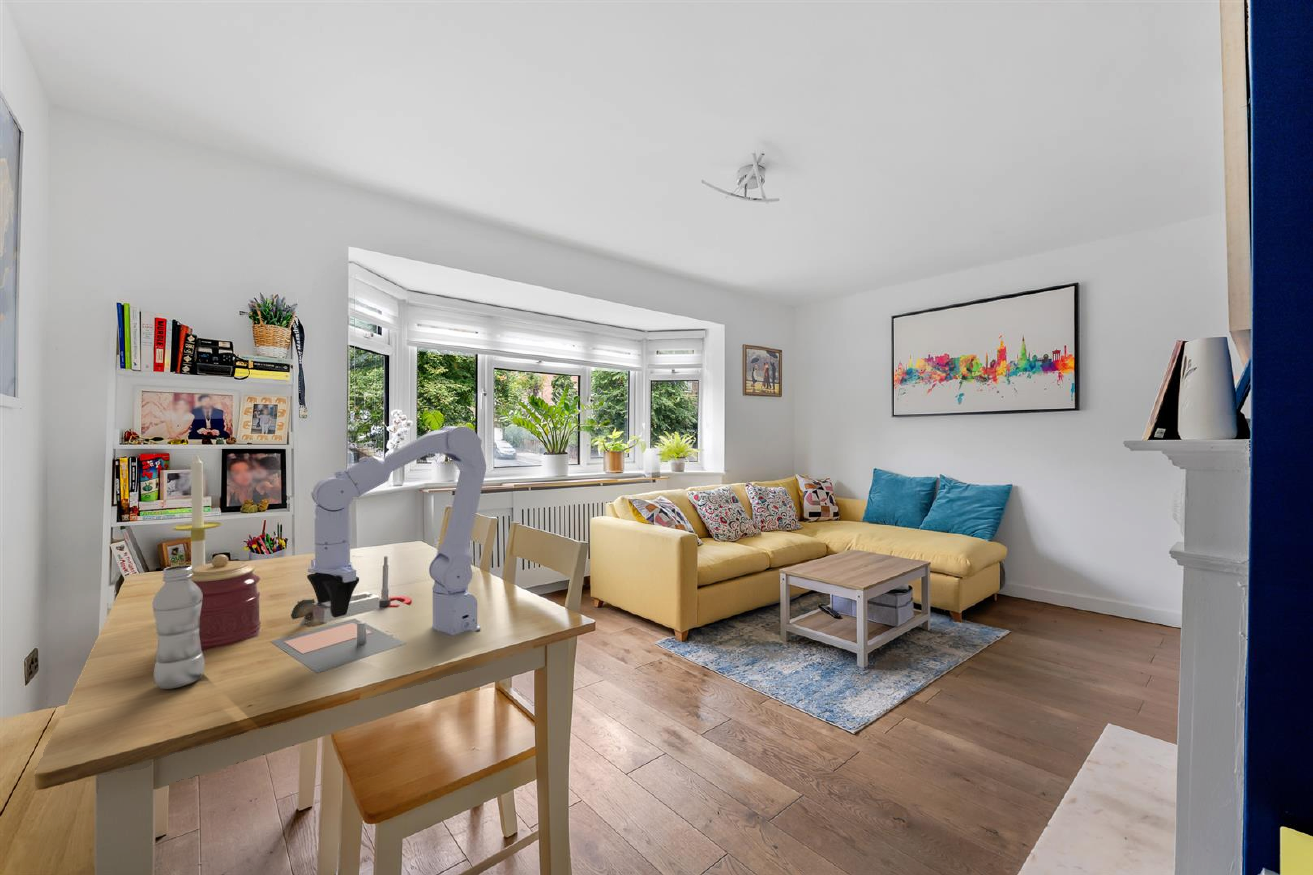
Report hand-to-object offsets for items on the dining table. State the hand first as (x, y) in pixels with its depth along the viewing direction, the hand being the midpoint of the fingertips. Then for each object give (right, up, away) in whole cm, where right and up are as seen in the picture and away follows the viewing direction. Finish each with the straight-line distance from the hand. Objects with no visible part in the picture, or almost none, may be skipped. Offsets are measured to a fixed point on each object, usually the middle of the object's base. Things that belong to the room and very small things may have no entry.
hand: (333, 612), depth 102 cm
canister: (-27, -8, +7) cm, 29 cm away
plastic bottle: (-19, -9, -11) cm, 24 cm away
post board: (-2, -9, +5) cm, 10 cm away
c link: (+1, -1, +2) cm, 2 cm away
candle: (-45, -8, +23) cm, 51 cm away
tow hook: (-3, -8, +29) cm, 31 cm away
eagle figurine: (-14, -8, +15) cm, 23 cm away
